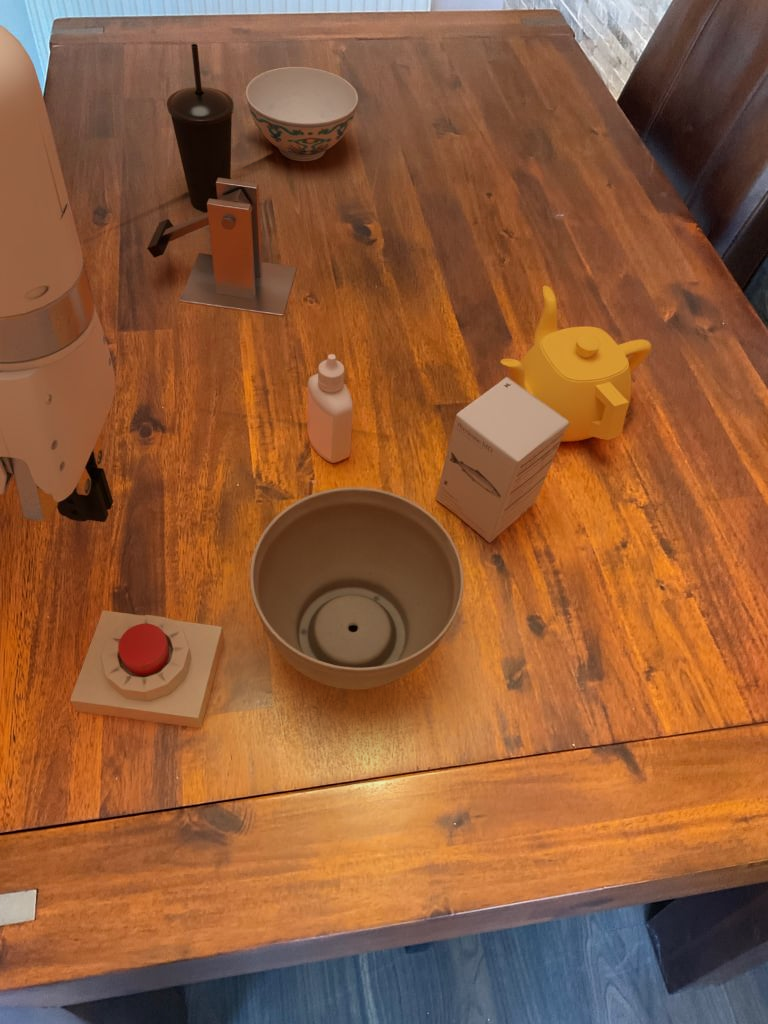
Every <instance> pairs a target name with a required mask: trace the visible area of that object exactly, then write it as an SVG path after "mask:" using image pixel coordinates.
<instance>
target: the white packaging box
mask: <svg viewBox="0 0 768 1024" xmlns="http://www.w3.org/2000/svg"><path fill="white" fill-rule="evenodd" d="M568 425H569V421H568V420H567V419H565V418H564V417H562V416H561V415H560V414H558V413H557V412H555V411H554V410H553V409H551V408H550V407H548V406H547V405H546V404H544V403H543V402H541V401H540V400H539V399H538V398H536V397H535V396H533V395H532V394H530V393H529V392H527V391H526V390H525V389H523V388H522V387H520V386H519V385H518V384H516V383H515V382H513V381H512V380H511V379H510V378H509V376H505V377H504V378H503V379H502V380H499V382H498V383H496V384H495V385H493V386H492V387H491V388H490V389H488V390H487V391H485V392H484V393H483V394H481V395H480V396H479V397H477V398H476V399H474V400H473V401H472V402H470V403H469V404H468V405H466V406H465V407H464V408H463V409H461V410H459V411H458V412H457V413H456V415H455V419H454V422H453V427H452V431H451V435H450V438H449V442H448V447H447V450H446V455H445V459H444V463H443V467H442V471H441V475H440V480H439V483H438V488H437V492H436V496H435V500H436V501H437V502H438V503H440V504H441V505H443V506H444V507H445V508H447V509H448V510H449V511H450V512H452V513H453V514H455V515H456V516H457V517H458V518H459V519H460V520H462V521H463V522H464V523H465V524H466V525H467V526H469V527H470V528H471V529H472V530H474V531H475V532H476V534H478V535H479V536H480V537H481V538H483V539H484V540H485V541H486V542H487V543H488V544H491V543H492V542H493V541H495V539H496V538H498V537H499V536H500V535H501V534H502V533H503V532H504V531H506V530H507V529H508V528H509V527H511V525H513V524H514V523H515V522H516V521H517V520H519V518H521V517H522V516H523V515H525V513H526V512H527V511H529V510H530V509H531V508H532V507H533V506H534V505H535V503H536V501H537V499H538V497H539V494H540V492H541V490H542V488H543V485H544V483H545V481H546V478H547V476H548V474H549V472H550V469H551V466H552V464H553V462H554V459H555V457H556V454H557V452H558V449H559V447H560V444H561V443H562V442H561V440H562V437H563V435H564V433H565V431H566V429H567V427H568Z"/></svg>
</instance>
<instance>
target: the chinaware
mask: <svg viewBox="0 0 768 1024" xmlns="http://www.w3.org/2000/svg"><path fill="white" fill-rule="evenodd" d="M245 98H246V102H247V106H248V109H249V112H250V115H251V117H252V120H253V122H254V123H255V126H256V127H257V129H258V130H259V132H260V133H261V134H262V135H263V136H264V138H266V140H267V141H268V142H269V143H271V144H272V145H274V146H275V147H276V148H278V150H279V153H280V154H281V155H282V156H284V157H285V158H287V159H289V160H292V161H297V162H312V161H315V160H318V159H320V158H321V157H323V156H324V155H325V153H326V151H327V150H329V149H330V148H332V147H334V146H335V145H336V144H337V143H338V142H339V141H340V140H342V138H343V137H344V136H345V135H346V133H347V132H348V131H349V128H350V126H351V125H352V122H353V120H354V117H355V115H356V110H357V108H358V103H359V95H358V93H357V90H356V89H355V87H354V85H352V84H351V82H349V81H348V80H346V79H345V78H343V77H341V76H340V75H337V74H335V73H332V72H331V71H330V72H329V71H327V70H323V69H320V68H314V67H305V66H287V67H278V68H274V69H270V70H267V71H264V72H262V73H260V74H258V75H256V76H254V78H252V79H251V80H250V81H249V83H248V84H247V86H246V89H245Z"/></svg>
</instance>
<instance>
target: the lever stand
mask: <svg viewBox="0 0 768 1024" xmlns="http://www.w3.org/2000/svg"><path fill="white" fill-rule="evenodd" d="M259 187H260V186H259V182H254V181H247V180H238V179H225V178H218V179H217V181H216V189H217V199H218V200H216V199H209V200H208V202H207V210H208V220H209V226H208V229H209V237H210V239H209V240H210V247H211V254H209V253H202V252H198V253H197V256H196V259H195V261H194V264H193V266H192V268H191V270H190V273H189V276H188V278H187V280H186V283H185V286H184V288H183V290H182V293H181V295H180V297H179V300H178V302H179V303H182V304H183V303H184V304H189V305H190V304H191V305H197V306H205V307H210V308H211V307H212V308H219V309H225V310H233V311H239V312H240V311H241V312H247V313H253V314H254V313H255V314H260V315H261V314H262V315H268V316H275V317H284V316H285V313H286V309H287V305H288V303H289V299H290V295H291V291H292V289H293V284H294V281H295V277H296V274H297V270H298V267H297V265H296V266H294V265H289V264H281V263H273V262H266V261H263V256H262V233H261V229H262V228H261V211H260V190H259ZM239 189H241V190H242V192H243V193H244V195H245V196H246V198H247V199H248V201H249V202H250V204H245V203H238V202H231V201H224V200H219V198H220V197H223V196H225V195H227V194H230V193H232V192H235V191H237V190H239ZM251 205H252V207H253V208H252V211H251Z"/></svg>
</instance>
